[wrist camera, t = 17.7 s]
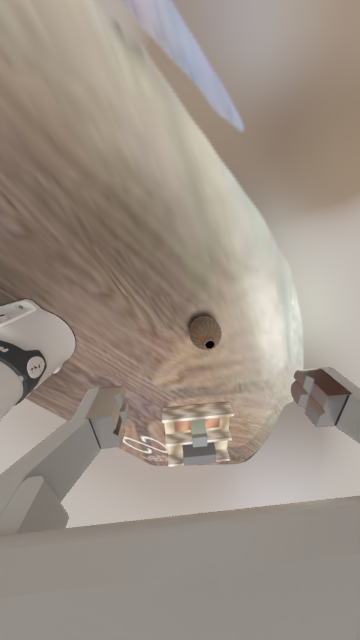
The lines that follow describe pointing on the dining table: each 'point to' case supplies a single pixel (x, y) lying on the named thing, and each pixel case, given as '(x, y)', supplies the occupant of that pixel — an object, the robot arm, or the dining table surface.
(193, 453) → the charcoal block
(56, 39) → the dining table surface
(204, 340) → the vase
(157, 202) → the dining table surface
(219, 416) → the rack
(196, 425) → the grey rectangular block
